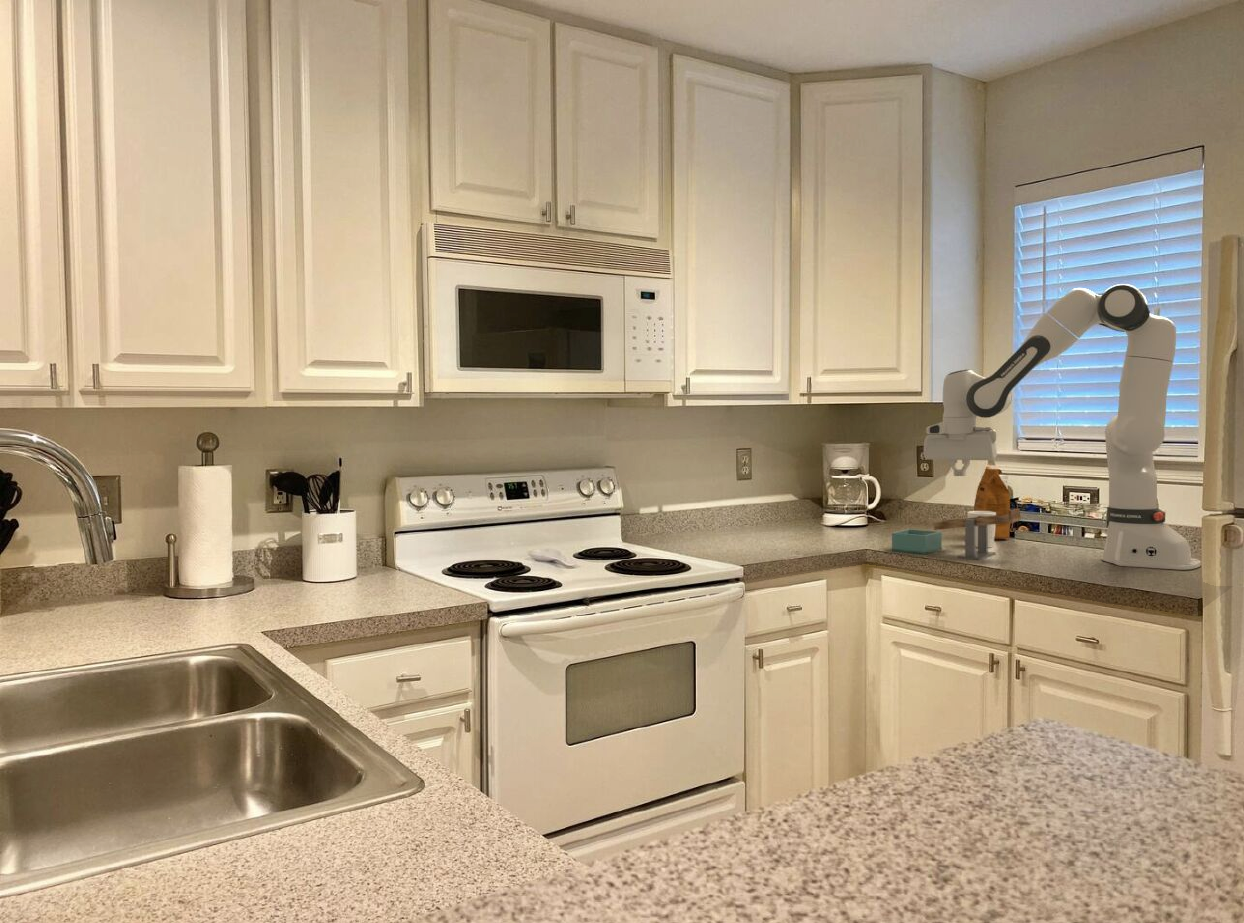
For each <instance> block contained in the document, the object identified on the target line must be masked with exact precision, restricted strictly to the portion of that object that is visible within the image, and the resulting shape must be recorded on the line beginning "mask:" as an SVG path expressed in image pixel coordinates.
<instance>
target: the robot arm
mask: <svg viewBox="0 0 1244 923" xmlns="http://www.w3.org/2000/svg"><path fill="white" fill-rule="evenodd" d="M1146 298H1147V297H1146V296H1145V295H1144V294H1143V293H1142V291H1140V289H1138V288H1137V287H1136V286H1134V285H1131V284H1128V283H1127V284H1126V283H1120V284H1116V285H1115V284H1114V285H1113V286H1110V287H1108V288H1107V289H1106V290H1105V291H1104V292H1102V294H1101V295H1099V294H1096V293H1095V292H1094V291H1091V290H1090V289H1087V288H1083V287H1077V288H1073V289H1072V290H1070V291H1069V292H1068V293H1066V294H1065V295H1063V296H1062V297H1061V298H1060V299H1058V300H1057V301H1056V302H1055V303H1054V304H1053V305H1052V306H1051V307H1050V308H1049V309H1048V310H1047V311H1046V312H1045V313H1044V314H1043V315H1042V316H1041V317H1040V318H1039V319H1038V320H1037V322H1036V323H1035V324H1034V325H1033V326H1032V328H1031V330H1030V332H1029V333H1028V334H1027V336H1026V337H1025V339H1024V340H1023V342H1022V343H1021V345H1019V347H1018V349H1017V350H1016V351H1015V352H1014V353H1013V354H1011V356H1010V357H1009V358H1008V359H1007V360H1006V361H1005V362H1004V363H1003V364H1002V365H1001V366H1000V367H999V368H998V369H997V370H996V371H995V372H994V373H993V374H991V375H990V376H988V377H984V376H983V375H980V374H979V373H976V372H975V371H973V370H971V369H961V370H956V371H952V372H949V373H948V374H946V376H945V377H944V379H943V386H942V405H943V409H944V410H943V414H942V422H937V423H935V424H931V425H929V426H927V427H926V429H925V432H926V434H927V435H926V436H925V438H924V441H923V456H924V458H925V460H932V461H933V460H936V461H937V460H939V461H941V460H943V461H949V466H950V467H951V469H952V470H953V476H954V477H966V476H967V470H968V468H969V466H970V465H971V461H994V460H995V459H996V458H997V457H998V454H997V453H998V452H997V444H996V441H997V433H996V431H995V429H994V428H991V427H990V426H989V427H988V426H986V427H983V426H982V427H980V426H977V424H976V423H977V421H976V420H977V417H979V418H985V419H986V418H988V419H989V418H992V417H994V416H997V415H999V414H1002V413H1003V412H1004V411H1006V410H1007V409H1009V406H1010V405H1011V404H1012V401H1013V400H1012V397H1013V396H1012V391H1013V389H1014V388H1015V387H1016V386H1017V385H1018V384H1019V383H1020V382H1022V380H1023V379H1024V378H1025V377H1026V376H1028V375H1029V373H1031V371H1032V370H1033V369H1035V368H1036V367H1038V366H1040V365H1041V364H1042V363H1044V362H1046V361H1049V360H1051V359H1054V358H1057V357H1059V356H1060V355H1061V354H1062V353H1065V352H1066V351H1067V350H1068V349H1069V348H1070V347H1072V346H1073V345H1074V344H1075V343H1076V342H1077V341H1078V340H1079V339H1080V338H1081V337H1082V336H1083V335H1084V334H1085V333H1086V332H1087V331H1088V330H1090V328H1092V327H1093V326H1095V325H1100V326H1103V327H1106V328H1108V329H1110V330H1113V331H1114V332H1115V331H1116V332H1123V333H1125V334H1126V335H1127V345H1126V346H1127V347H1126V352H1125V356H1124V360H1123V365H1122V370H1121V376H1120V380H1119V385H1118V390H1119V393H1118V394H1119V396H1118V410H1117V414H1116V415H1114V416H1112V418H1110V419H1109V421H1108V422H1107V424H1106V426H1105V430H1104V436H1105V450H1106V461H1107V462H1106V463H1107V470H1108V506H1107V507H1106V513H1105V514H1106V515H1105V519H1106V520H1105V522H1106V523H1105V524H1106V528H1107V530H1106V531H1107V532H1106V539H1105V543H1104V544H1105V545H1104V548H1103V552H1102V555H1101V557H1100V559H1101V560H1102V561H1103V562H1104V561H1105V562H1107V563H1111V564H1115V565H1116V566H1121V567H1136V568H1148V569H1149V568H1151V569H1152V568H1153V569H1166V570H1180V571H1181V570H1184V571H1185V570H1193V569H1194V570H1195V569H1197V568H1199V567H1200V566H1202V562H1201V560H1200V559H1197V558H1192V553H1191V549H1190V548H1191V547H1190V544H1189V541H1188V540H1187V539H1186V537H1184V536H1183V535H1181V534H1180V533H1179V532H1177V531H1176V530H1174V529H1173V528H1172V527H1171V526H1169V525H1168V524H1166V514H1167V511H1166V510H1164V511H1163V510H1162V509H1159V508H1158V507H1157V502H1158V500H1157V499H1158V498H1157V497H1158V476H1157V474H1156V468H1155V462H1154V453H1153V452H1156V451H1157V450H1158V449H1159V448H1160V447H1161V445H1162V444H1163V442H1164V440H1165V434H1166V433H1165V426H1166V414H1167V413H1166V412H1167V396H1168V390H1169V384H1170V380H1171V375H1172V369H1173V364H1174V359H1175V355H1176V354H1175V353H1176V346H1177V345H1176V344H1177V327H1176V324H1175V323H1174V322H1173V320H1170V319H1169V318H1167V317H1164V316H1160V315H1154V314H1151V311H1150V309H1149V308H1150V307H1149V306H1148V300H1147V299H1146ZM976 416H977V417H976ZM958 461H961V464H963V466H962V467H961V469H959V468H958V466H957V463H958Z"/></svg>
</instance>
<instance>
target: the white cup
mask: <svg viewBox="0 0 1244 923" xmlns="http://www.w3.org/2000/svg"><path fill="white" fill-rule="evenodd" d="M966 513H967V518H973V517H978V516H993V515H996V512H991V511H974V510H969V511H967V512H966ZM995 525H996V524H992V525H988V549H989V548H993V547H995V540H994V537H995ZM975 548H978V526H975Z"/></svg>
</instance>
